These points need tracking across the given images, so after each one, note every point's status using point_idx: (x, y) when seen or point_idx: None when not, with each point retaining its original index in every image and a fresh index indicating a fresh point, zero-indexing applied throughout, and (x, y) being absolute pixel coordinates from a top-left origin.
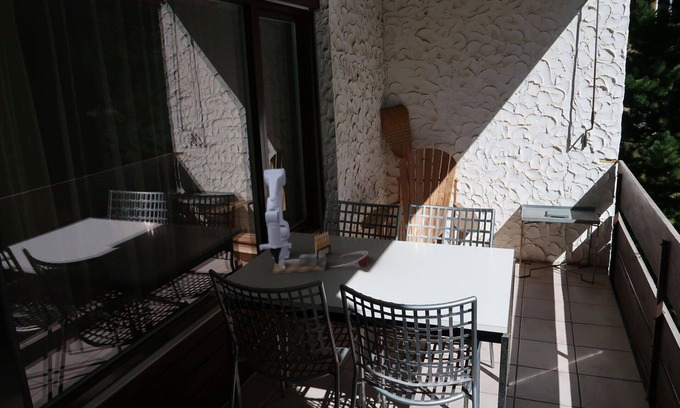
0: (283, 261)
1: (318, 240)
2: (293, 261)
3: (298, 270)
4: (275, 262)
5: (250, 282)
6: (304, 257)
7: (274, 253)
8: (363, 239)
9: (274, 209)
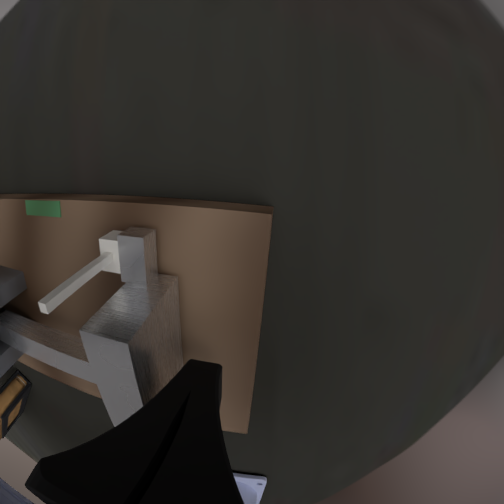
0: (63, 286)
1: None
2: (39, 331)
3: (22, 196)
4: (216, 375)
5: (487, 45)
6: None
7: (168, 490)
8: None
9: None
